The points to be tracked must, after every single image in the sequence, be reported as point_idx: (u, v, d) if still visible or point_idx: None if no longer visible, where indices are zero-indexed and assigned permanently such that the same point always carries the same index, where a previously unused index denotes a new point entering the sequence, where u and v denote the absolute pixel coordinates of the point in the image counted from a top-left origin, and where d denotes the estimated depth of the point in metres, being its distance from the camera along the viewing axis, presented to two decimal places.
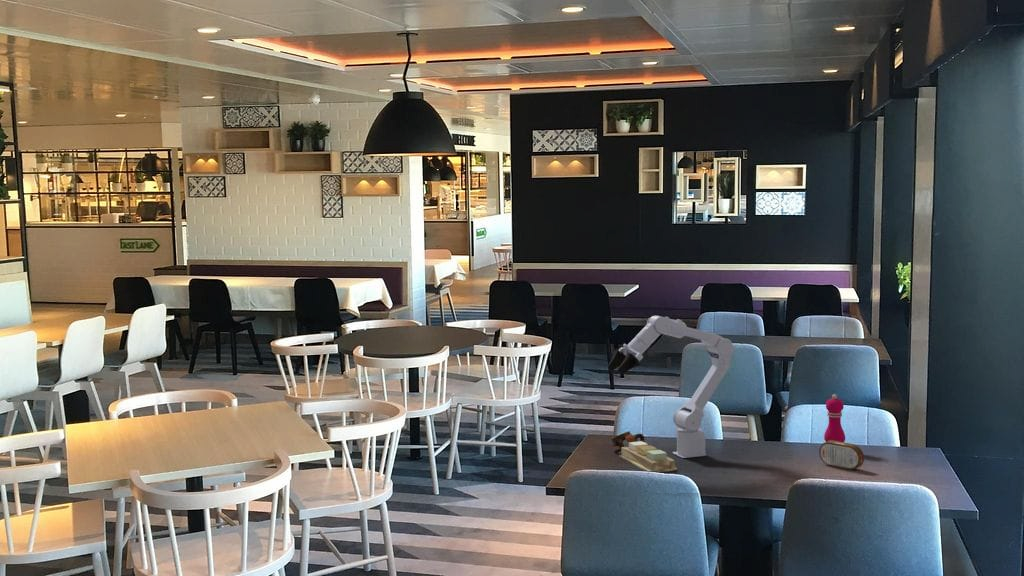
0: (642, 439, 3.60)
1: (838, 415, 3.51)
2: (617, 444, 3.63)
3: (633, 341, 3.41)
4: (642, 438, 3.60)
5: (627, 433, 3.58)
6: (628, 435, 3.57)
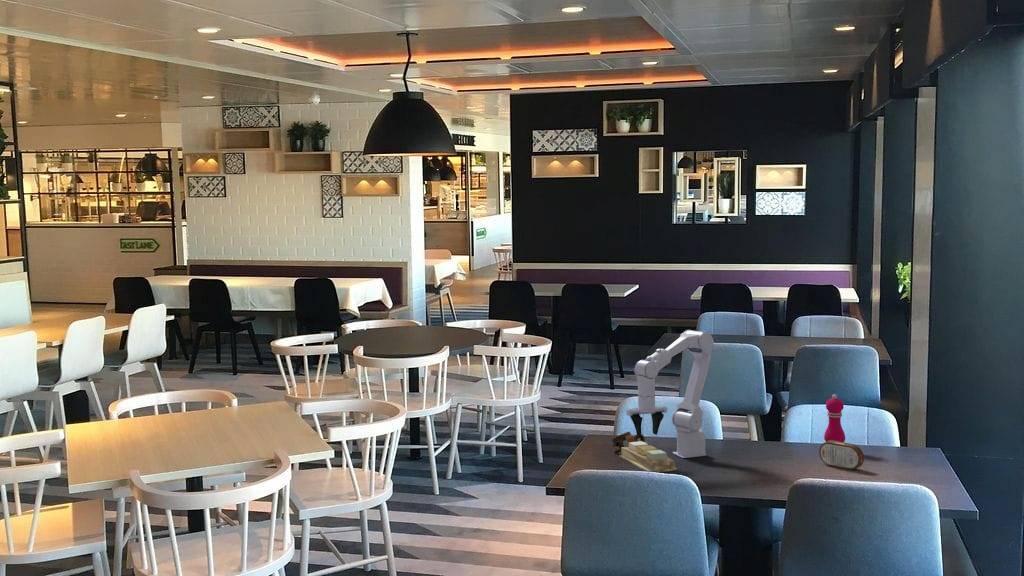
0: (642, 439, 3.60)
1: (838, 415, 3.51)
2: (617, 444, 3.62)
3: (652, 401, 3.37)
4: (642, 438, 3.60)
5: (627, 433, 3.58)
6: (628, 435, 3.57)
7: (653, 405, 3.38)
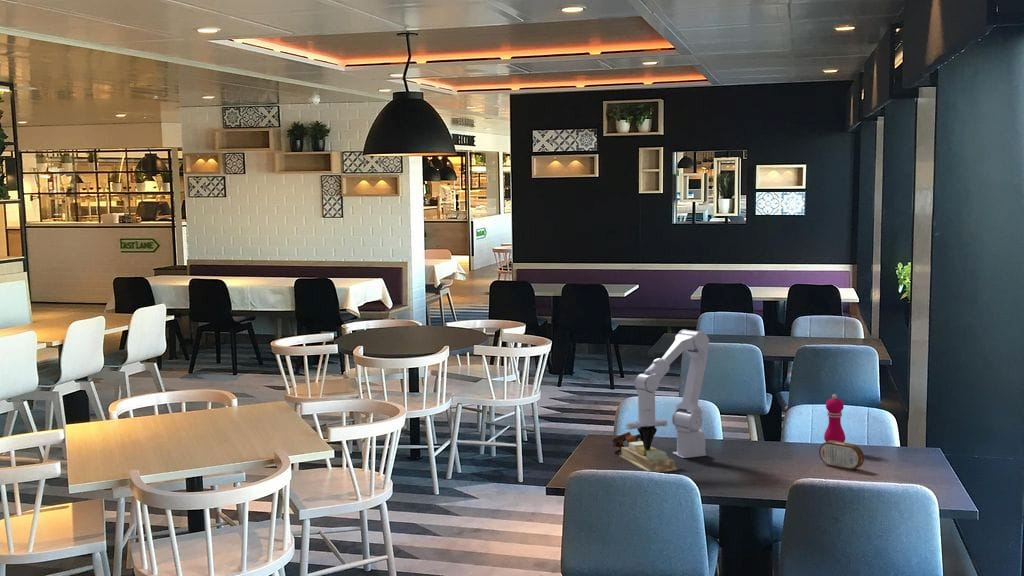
0: None
1: (838, 415, 3.51)
2: (617, 445, 3.62)
3: (652, 415, 3.38)
4: None
5: (627, 434, 3.57)
6: (628, 436, 3.56)
7: (653, 419, 3.38)
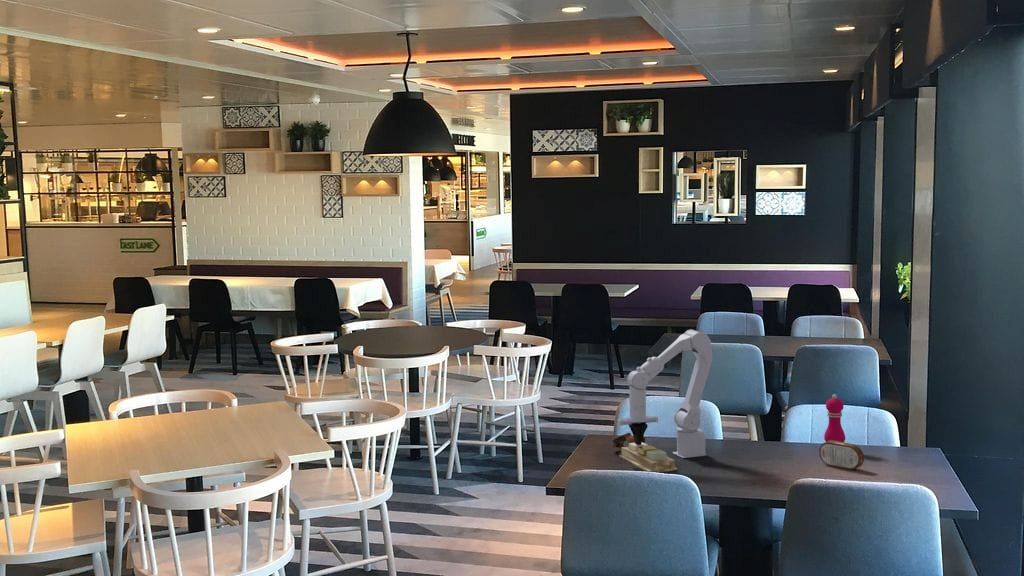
0: (643, 440, 3.58)
1: (838, 415, 3.51)
2: (617, 445, 3.61)
3: (643, 412, 3.44)
4: (643, 439, 3.58)
5: (628, 434, 3.56)
6: (629, 436, 3.55)
7: (644, 415, 3.45)
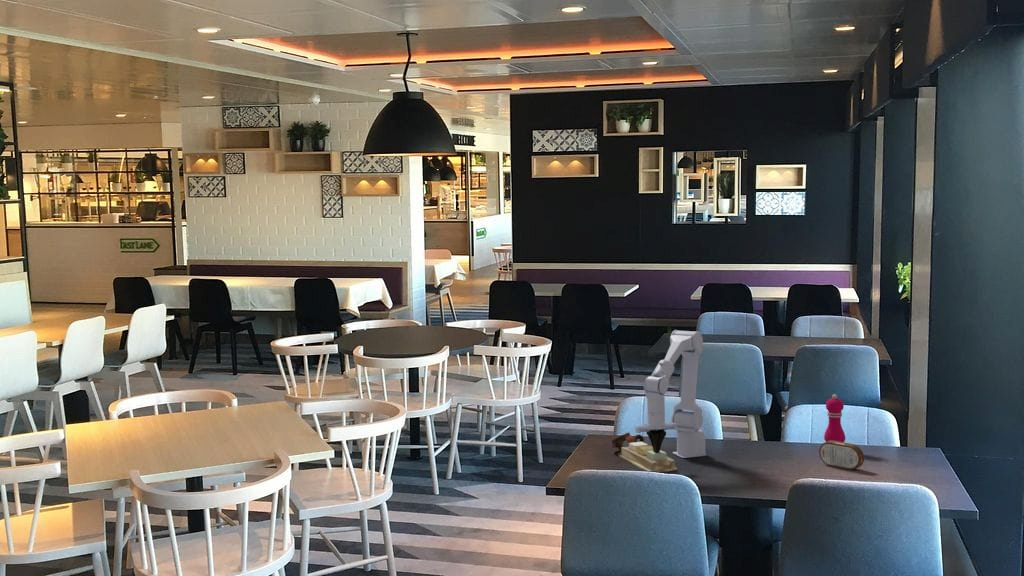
0: (642, 440, 3.58)
1: (838, 415, 3.51)
2: (616, 445, 3.61)
3: (661, 418, 3.31)
4: (642, 439, 3.58)
5: (627, 434, 3.56)
6: (628, 436, 3.55)
7: (663, 422, 3.32)
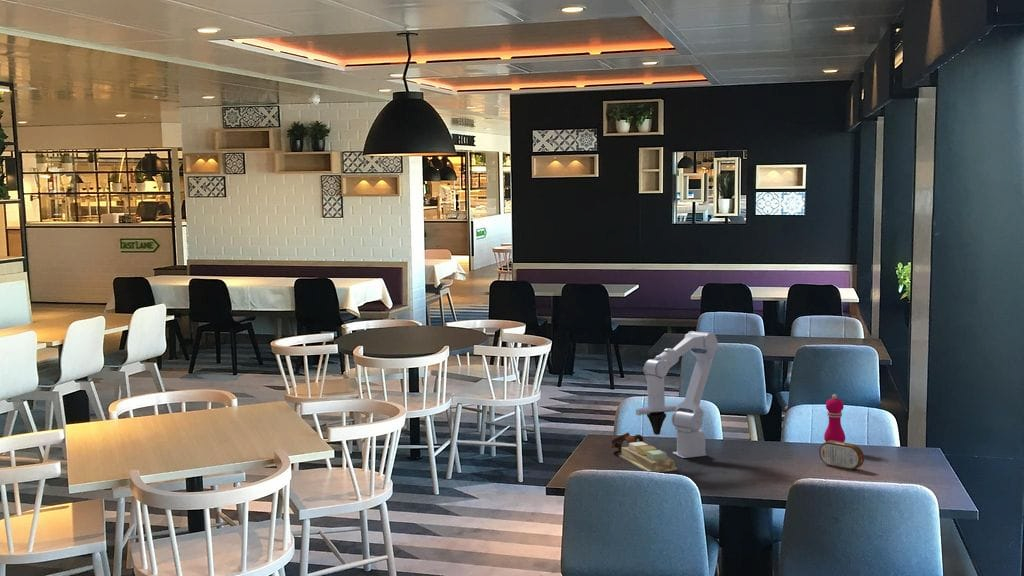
0: (641, 440, 3.58)
1: (838, 415, 3.51)
2: (616, 446, 3.60)
3: (661, 401, 3.38)
4: (641, 439, 3.58)
5: (627, 434, 3.56)
6: (628, 436, 3.55)
7: (663, 404, 3.38)
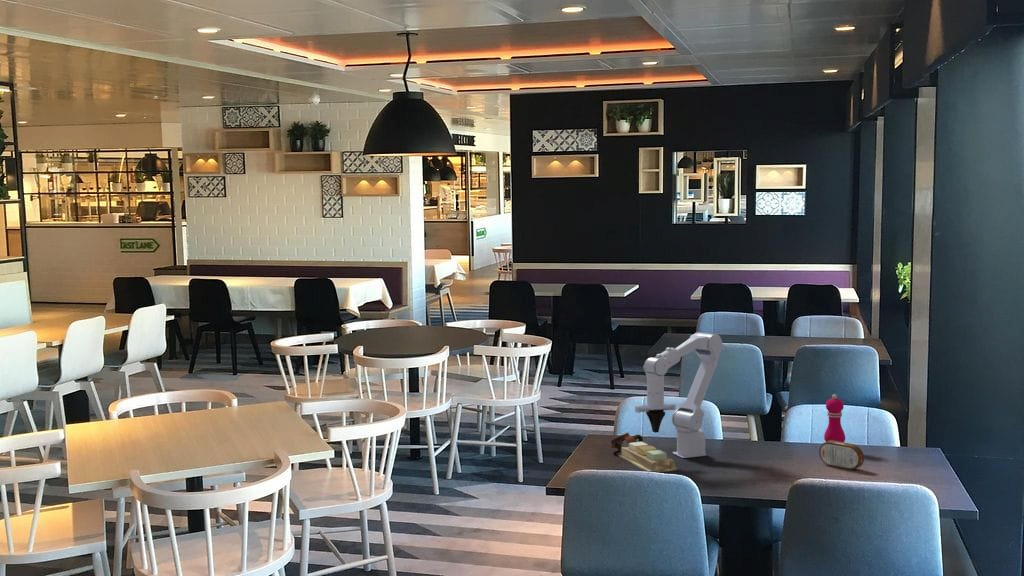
0: (641, 440, 3.58)
1: (838, 415, 3.51)
2: (615, 446, 3.60)
3: (661, 399, 3.39)
4: (641, 439, 3.58)
5: (626, 434, 3.56)
6: (627, 436, 3.55)
7: (662, 402, 3.40)
